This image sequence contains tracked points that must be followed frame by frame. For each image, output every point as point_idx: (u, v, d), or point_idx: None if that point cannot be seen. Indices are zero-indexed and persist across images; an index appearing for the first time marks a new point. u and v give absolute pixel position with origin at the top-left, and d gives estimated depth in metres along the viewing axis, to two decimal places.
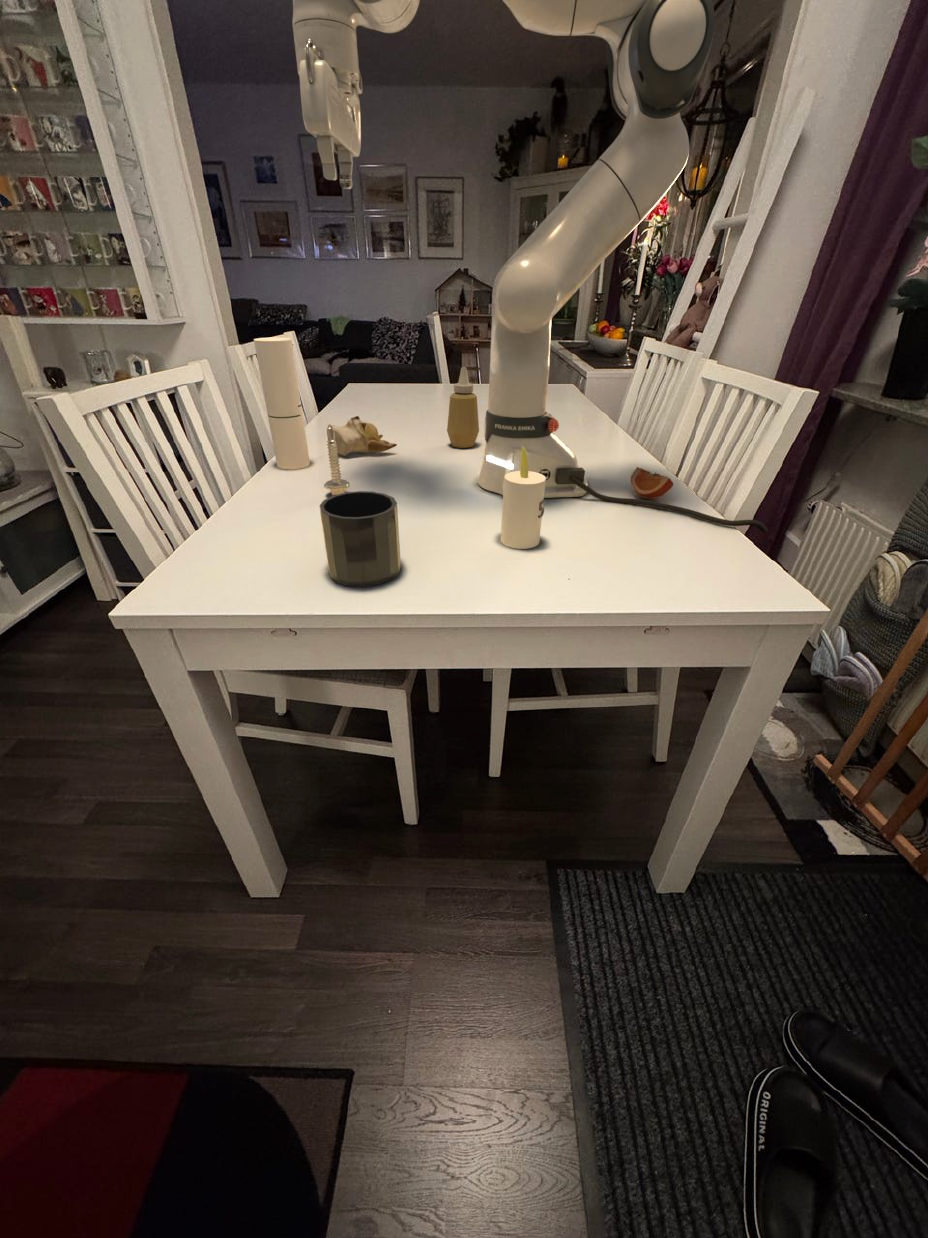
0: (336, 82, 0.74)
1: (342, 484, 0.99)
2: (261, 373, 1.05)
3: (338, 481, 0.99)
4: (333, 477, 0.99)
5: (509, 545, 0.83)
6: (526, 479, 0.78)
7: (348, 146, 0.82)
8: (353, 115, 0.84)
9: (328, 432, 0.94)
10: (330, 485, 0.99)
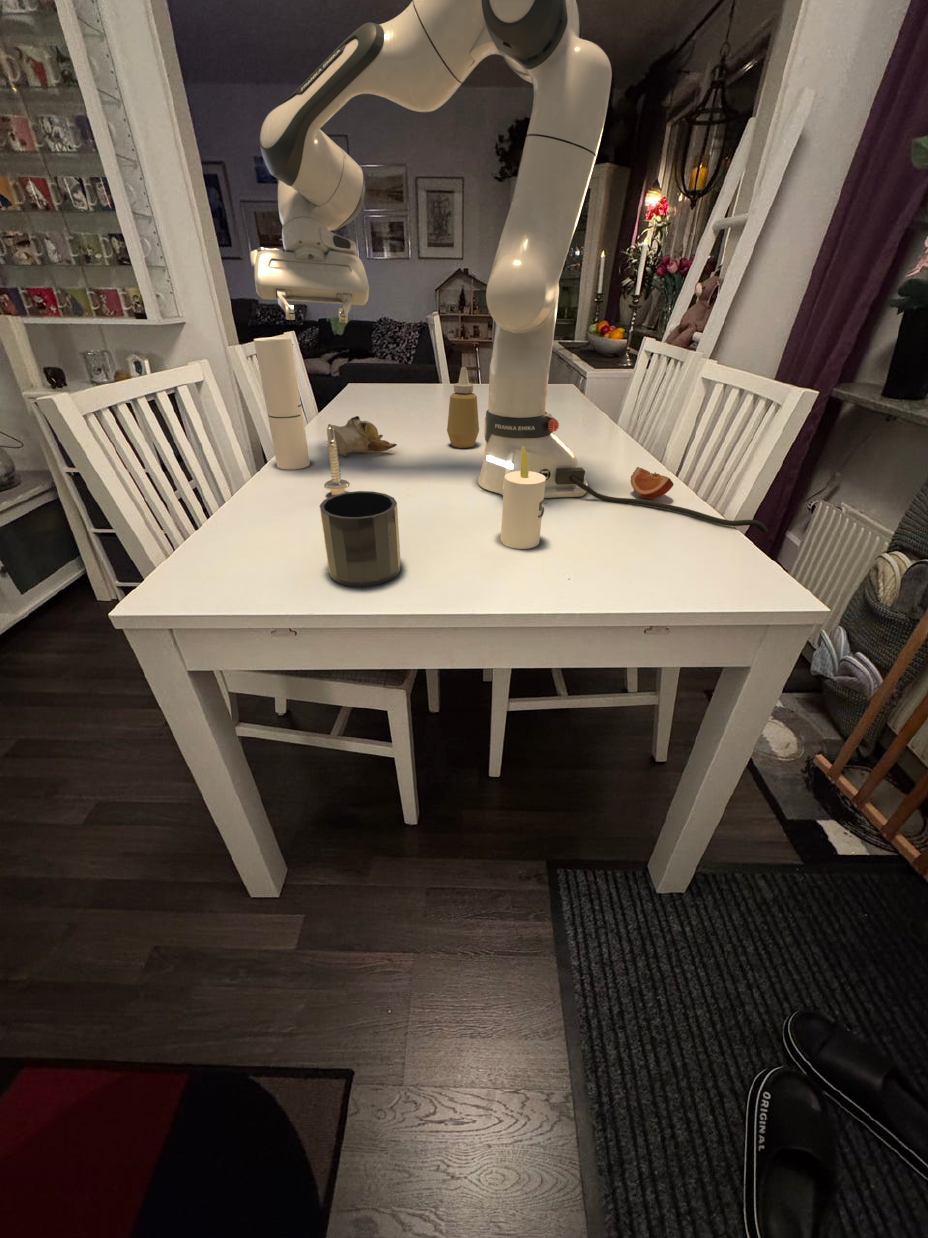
0: (291, 256, 0.94)
1: (342, 484, 0.99)
2: (261, 373, 1.05)
3: (338, 481, 0.99)
4: (333, 477, 0.99)
5: (509, 545, 0.83)
6: (526, 479, 0.78)
7: (324, 289, 0.95)
8: (350, 269, 0.97)
9: (328, 432, 0.94)
10: (330, 485, 0.99)
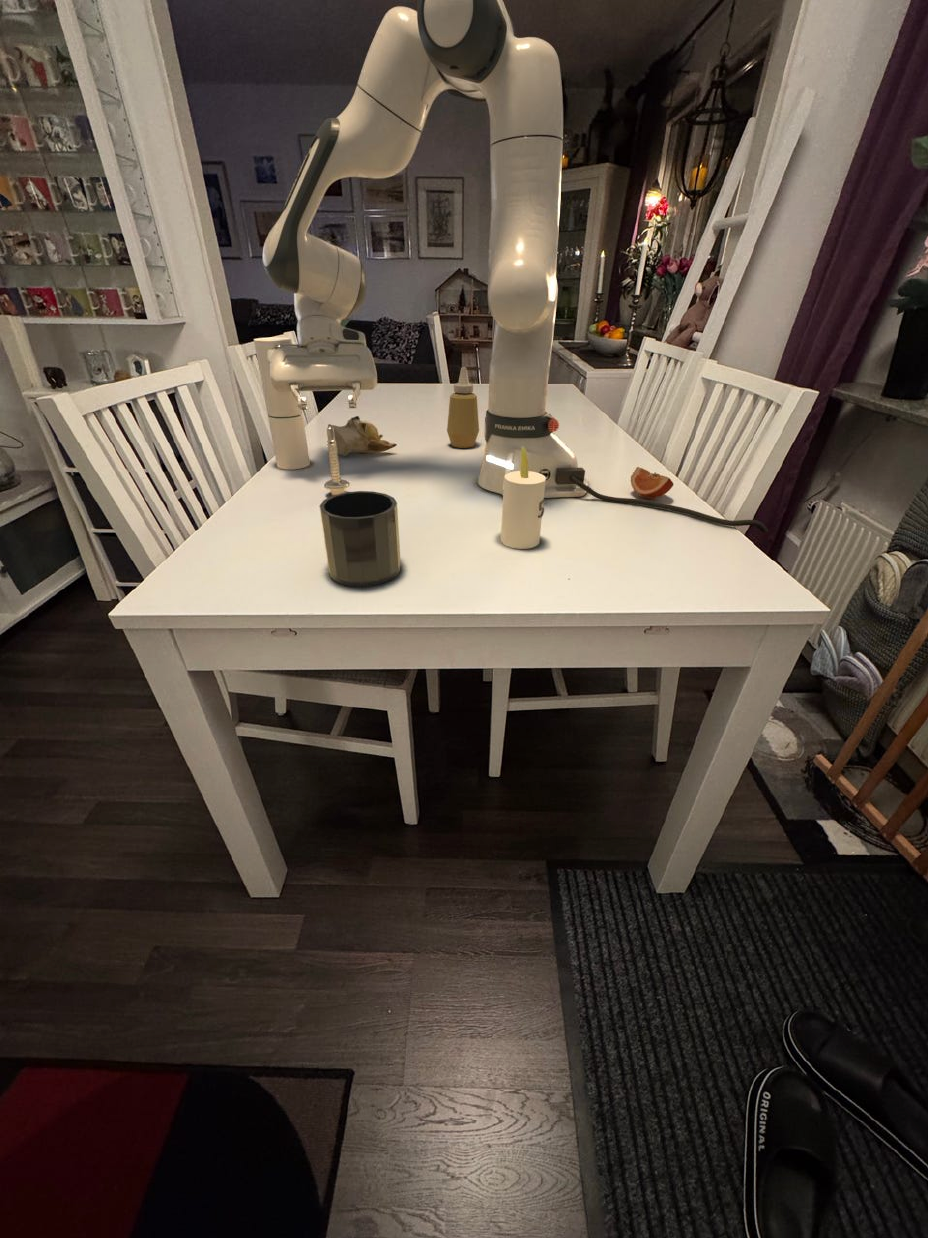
0: (303, 351, 1.00)
1: (342, 484, 0.99)
2: (261, 373, 1.05)
3: (338, 481, 0.99)
4: (333, 477, 0.99)
5: (509, 545, 0.83)
6: (526, 479, 0.78)
7: (333, 379, 1.00)
8: (359, 358, 1.02)
9: (328, 432, 0.94)
10: (330, 485, 0.99)
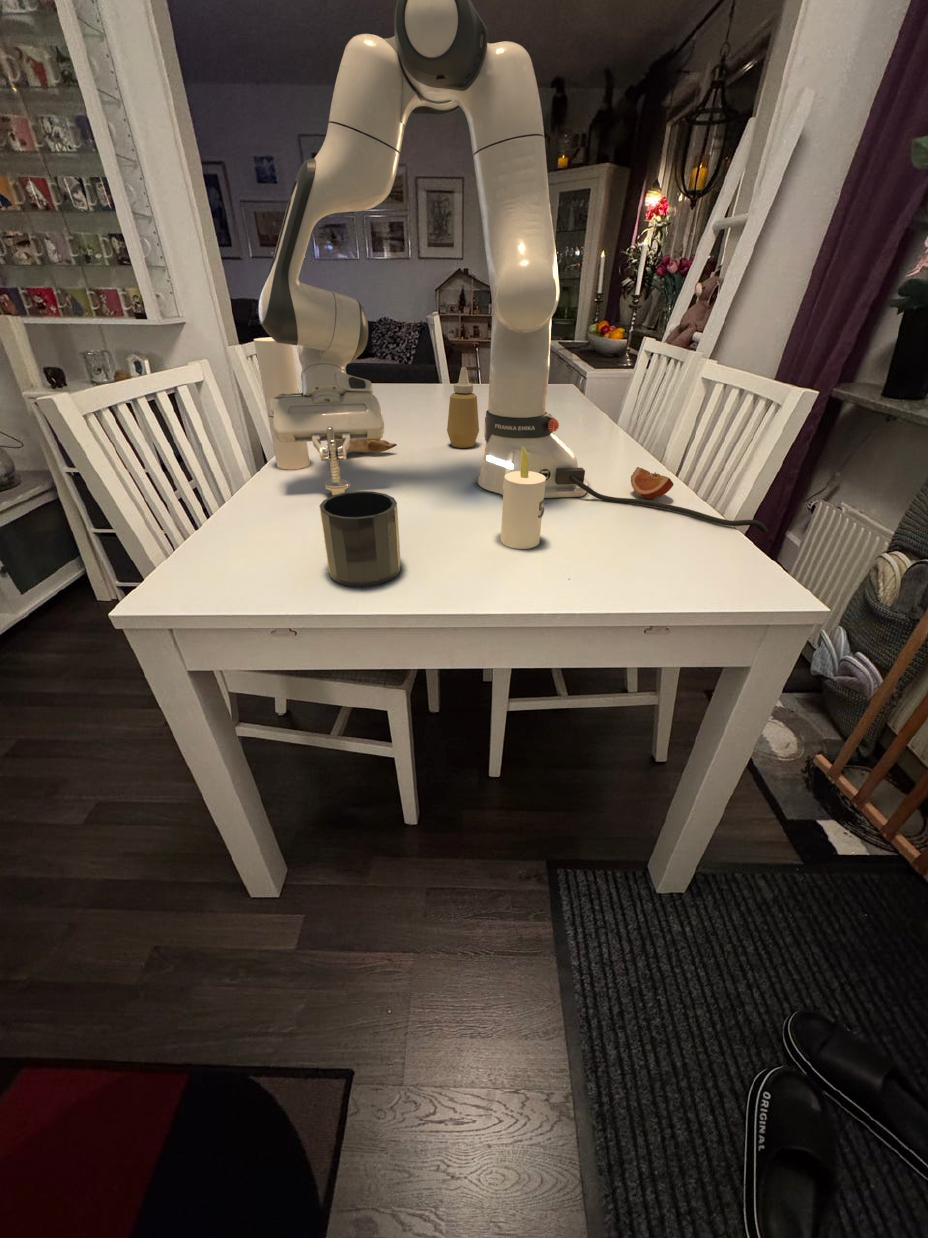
0: (308, 401, 0.96)
1: (342, 484, 0.99)
2: (261, 373, 1.05)
3: (338, 481, 0.99)
4: (333, 477, 0.99)
5: (509, 545, 0.83)
6: (526, 479, 0.78)
7: (339, 430, 0.97)
8: (365, 407, 0.98)
9: (328, 432, 0.94)
10: (330, 485, 0.99)
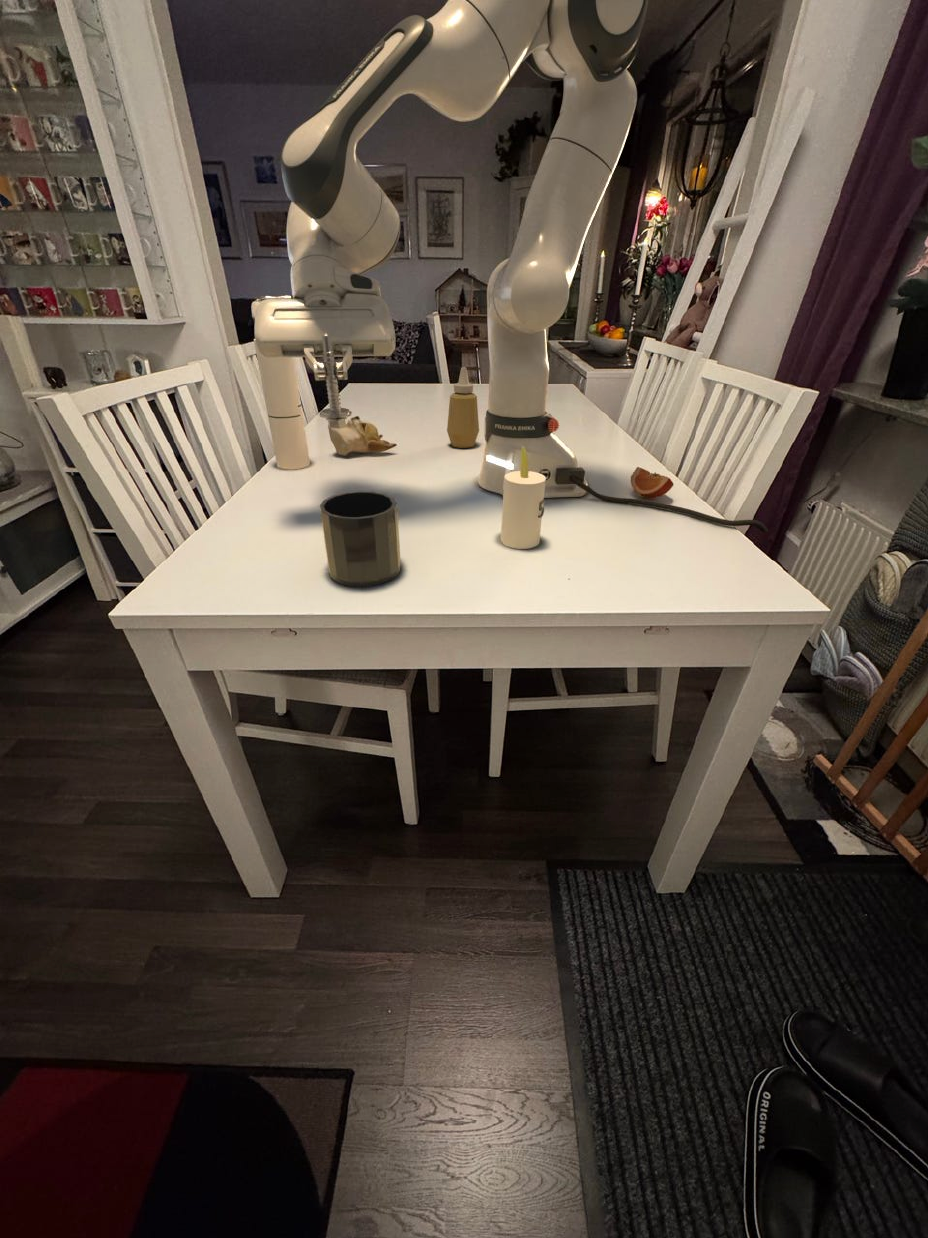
0: (299, 304, 0.76)
1: (342, 412, 0.79)
2: (261, 373, 1.05)
3: (337, 408, 0.79)
4: (331, 402, 0.78)
5: (509, 545, 0.83)
6: (526, 479, 0.78)
7: (339, 340, 0.76)
8: (372, 313, 0.78)
9: (324, 340, 0.74)
10: (327, 413, 0.78)
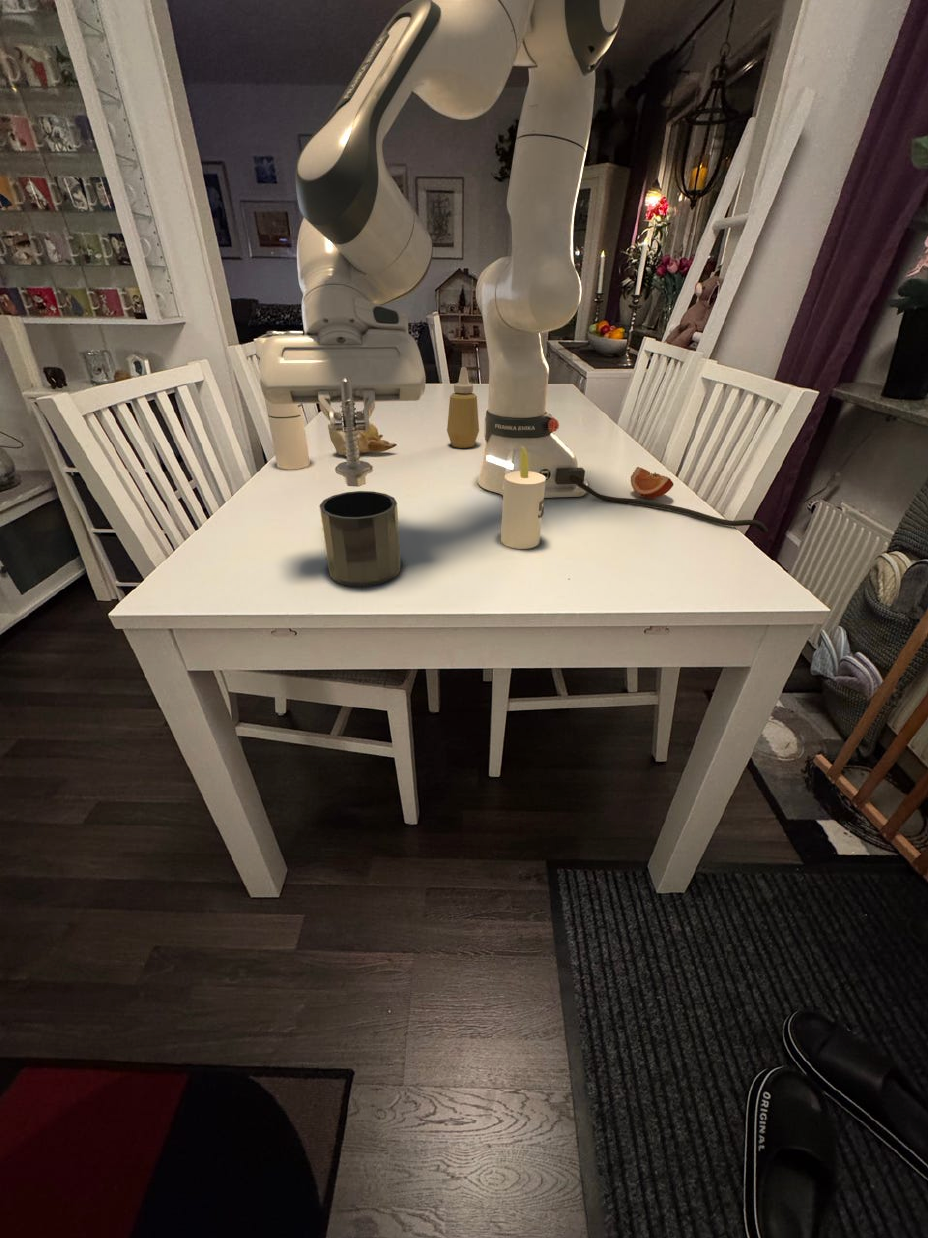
0: (312, 341, 0.64)
1: (362, 467, 0.67)
2: None
3: (356, 463, 0.67)
4: (349, 457, 0.66)
5: (509, 545, 0.83)
6: (526, 479, 0.78)
7: (359, 385, 0.64)
8: (398, 352, 0.66)
9: (343, 387, 0.62)
10: (344, 469, 0.66)
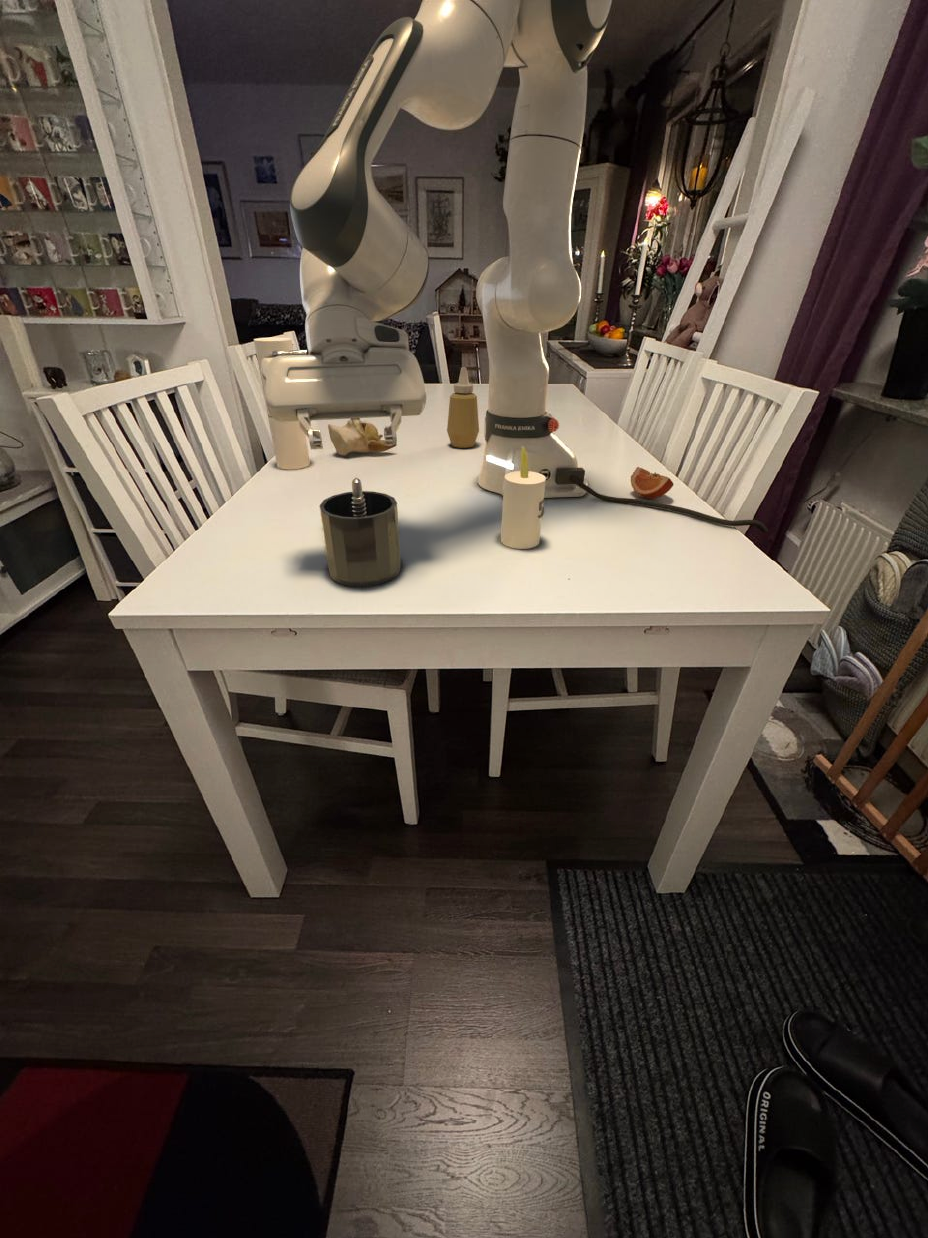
0: (316, 360, 0.66)
1: None
2: (261, 373, 1.05)
3: None
4: None
5: (509, 545, 0.83)
6: (526, 479, 0.78)
7: (362, 402, 0.66)
8: (399, 369, 0.68)
9: (354, 487, 0.68)
10: None
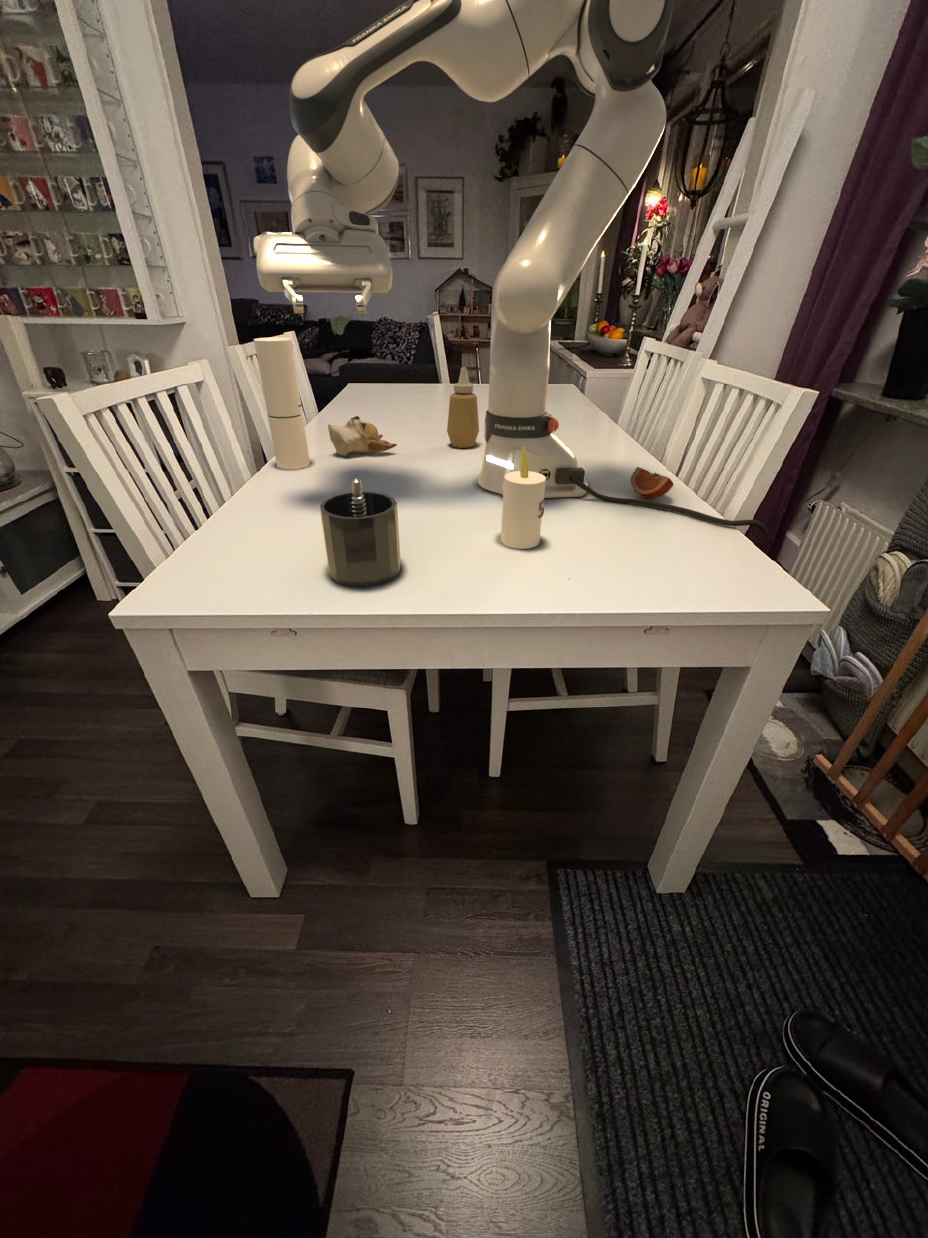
0: (299, 239, 0.79)
1: None
2: (261, 373, 1.05)
3: None
4: None
5: (509, 545, 0.83)
6: (526, 479, 0.78)
7: (338, 274, 0.79)
8: (370, 250, 0.81)
9: (354, 487, 0.68)
10: None
